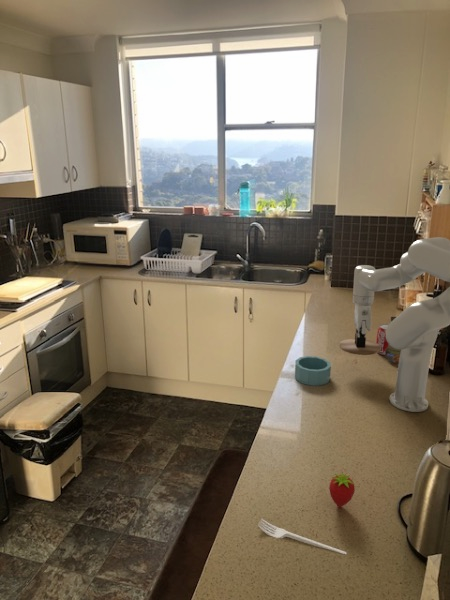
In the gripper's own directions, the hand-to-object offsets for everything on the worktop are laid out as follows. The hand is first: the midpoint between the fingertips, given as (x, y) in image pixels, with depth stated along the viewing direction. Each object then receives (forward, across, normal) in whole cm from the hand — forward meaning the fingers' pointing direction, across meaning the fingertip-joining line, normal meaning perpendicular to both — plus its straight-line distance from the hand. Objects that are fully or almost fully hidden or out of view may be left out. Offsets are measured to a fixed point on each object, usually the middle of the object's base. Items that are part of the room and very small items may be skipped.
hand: (359, 345), depth 182 cm
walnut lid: (+2, 0, 0) cm, 2 cm away
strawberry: (+15, -74, +15) cm, 77 cm away
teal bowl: (+12, -5, +18) cm, 22 cm away
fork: (+15, -86, +25) cm, 90 cm away
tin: (+13, +13, -20) cm, 27 cm away
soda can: (+12, +23, -14) cm, 30 cm away
